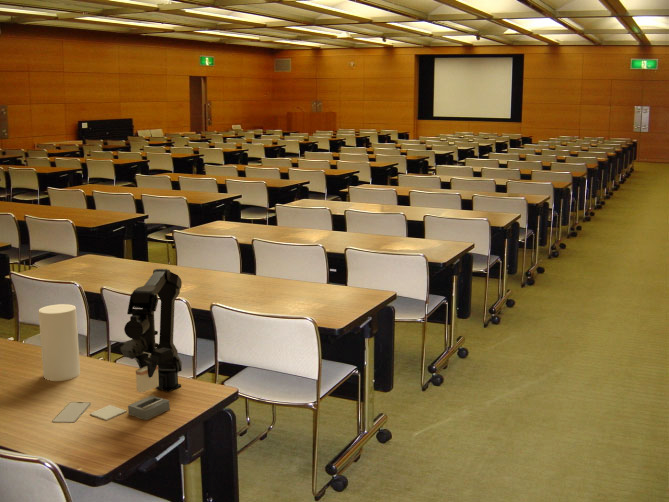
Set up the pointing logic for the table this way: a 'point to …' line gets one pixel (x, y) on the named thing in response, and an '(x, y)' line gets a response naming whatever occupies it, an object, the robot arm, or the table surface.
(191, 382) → the table surface
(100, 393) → the table surface
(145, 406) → the dispenser
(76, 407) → the smartphone
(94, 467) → the table surface
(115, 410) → the mat
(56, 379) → the cylinder
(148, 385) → the cream rectangular block
